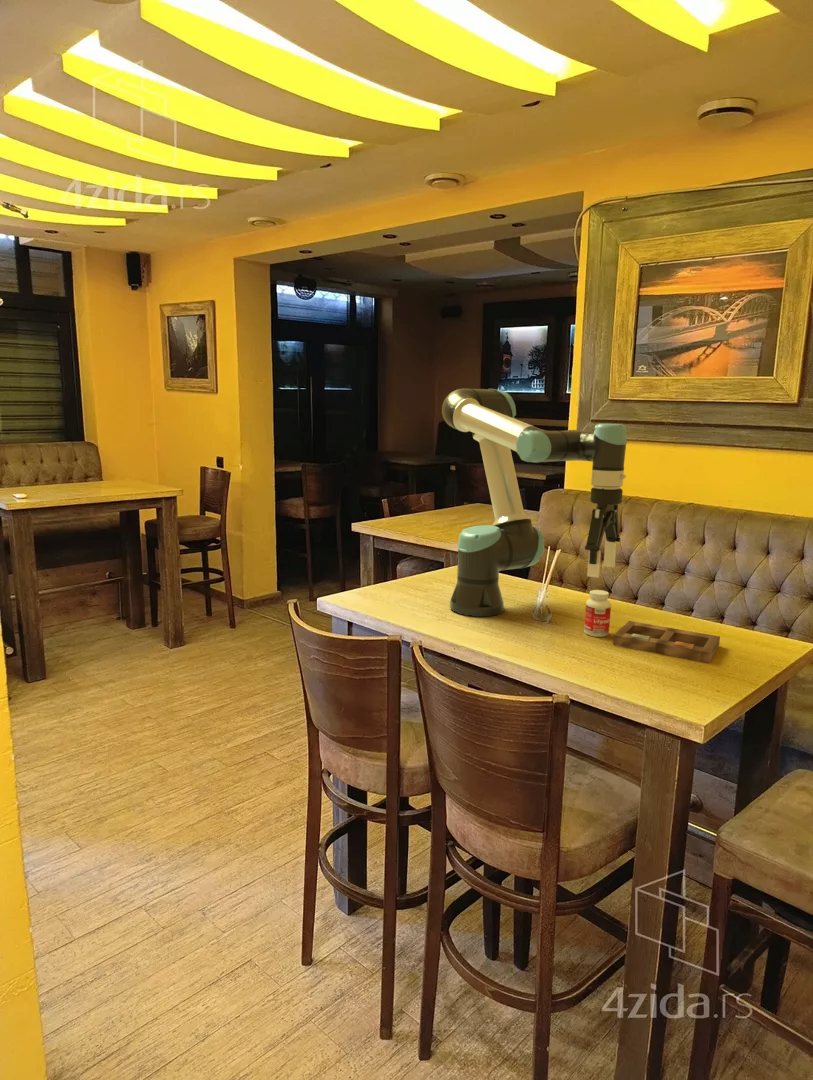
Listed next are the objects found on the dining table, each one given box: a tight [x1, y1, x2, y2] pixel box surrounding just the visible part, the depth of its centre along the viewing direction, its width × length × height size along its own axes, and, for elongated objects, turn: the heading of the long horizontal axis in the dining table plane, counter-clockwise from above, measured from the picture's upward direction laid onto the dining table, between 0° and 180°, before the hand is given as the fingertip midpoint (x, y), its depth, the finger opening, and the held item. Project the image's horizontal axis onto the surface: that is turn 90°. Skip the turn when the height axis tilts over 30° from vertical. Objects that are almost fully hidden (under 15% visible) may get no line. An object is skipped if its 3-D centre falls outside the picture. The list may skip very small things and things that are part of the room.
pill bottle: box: [583, 589, 612, 638], centre depth 178 cm, size 6×6×11 cm
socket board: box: [612, 620, 721, 664], centre depth 171 cm, size 22×14×3 cm, turn 58°
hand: (601, 571), depth 176 cm, fingers open, 13 cm apart
